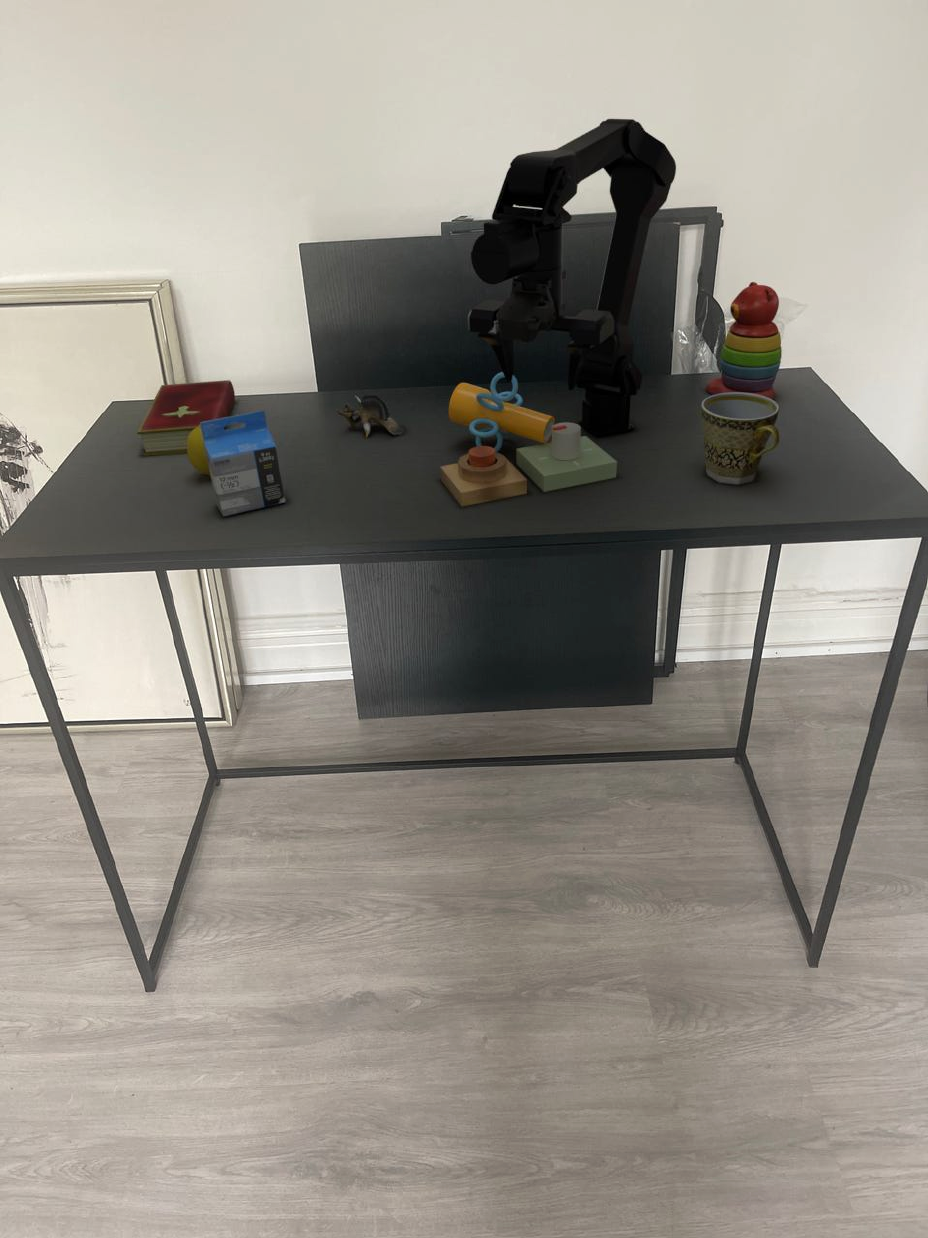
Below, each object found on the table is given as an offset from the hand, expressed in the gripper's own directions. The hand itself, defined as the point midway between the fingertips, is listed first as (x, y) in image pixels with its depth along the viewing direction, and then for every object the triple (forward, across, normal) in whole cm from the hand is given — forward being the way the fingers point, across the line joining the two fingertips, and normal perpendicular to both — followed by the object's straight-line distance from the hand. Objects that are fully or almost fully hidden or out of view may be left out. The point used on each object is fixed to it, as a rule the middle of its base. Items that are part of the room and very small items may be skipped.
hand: (539, 385), depth 124 cm
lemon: (+12, -43, -21) cm, 50 cm away
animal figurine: (+12, -30, +2) cm, 33 cm away
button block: (+12, -5, -9) cm, 16 cm away
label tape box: (+12, -32, -26) cm, 43 cm away
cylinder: (+6, -15, +3) cm, 17 cm away
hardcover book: (+12, -59, -7) cm, 61 cm away
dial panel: (+12, +4, 0) cm, 13 cm away
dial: (+10, +4, +1) cm, 10 cm away
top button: (+9, -5, -9) cm, 13 cm away
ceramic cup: (+13, +26, +7) cm, 30 cm away
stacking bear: (+13, +20, +38) cm, 45 cm away
